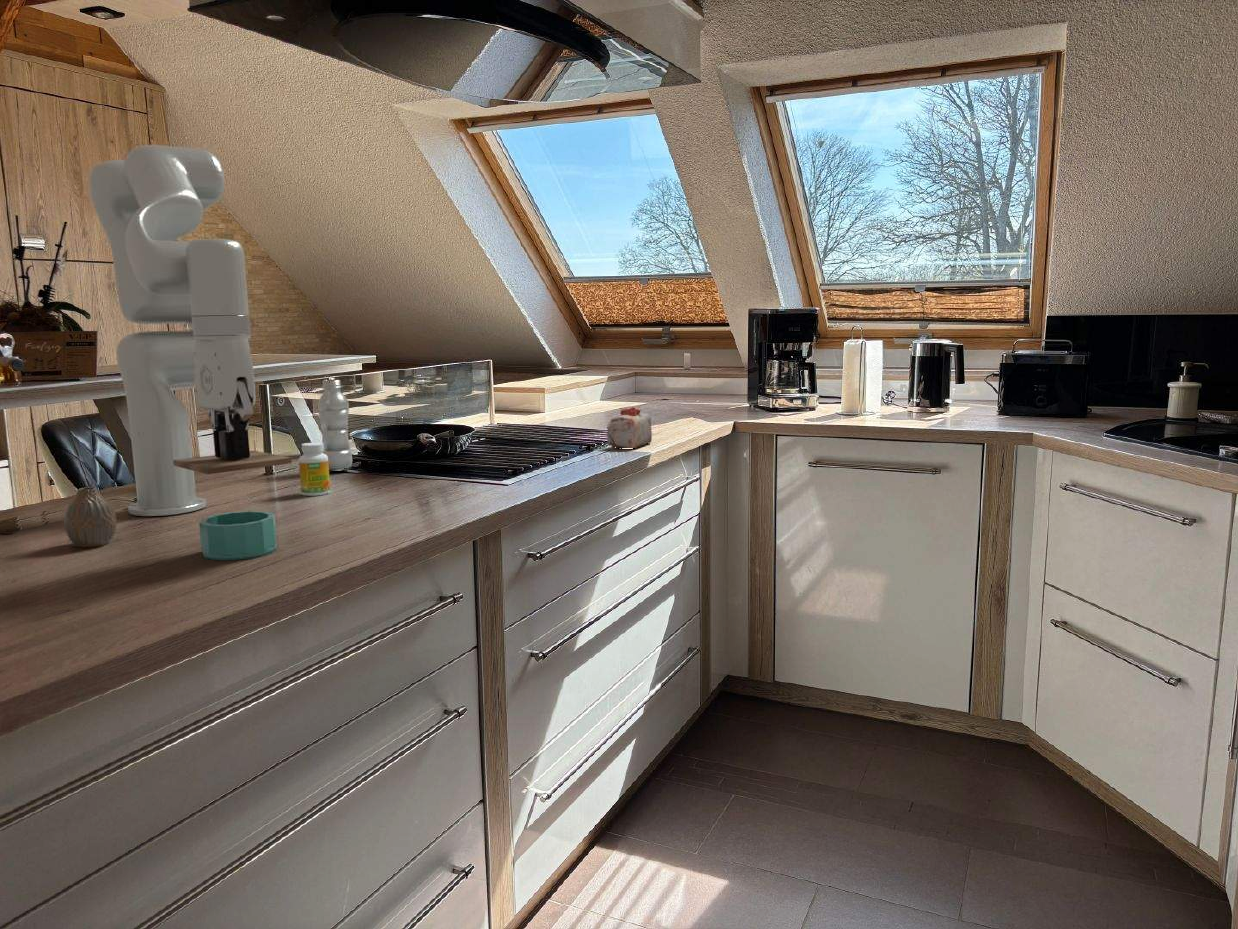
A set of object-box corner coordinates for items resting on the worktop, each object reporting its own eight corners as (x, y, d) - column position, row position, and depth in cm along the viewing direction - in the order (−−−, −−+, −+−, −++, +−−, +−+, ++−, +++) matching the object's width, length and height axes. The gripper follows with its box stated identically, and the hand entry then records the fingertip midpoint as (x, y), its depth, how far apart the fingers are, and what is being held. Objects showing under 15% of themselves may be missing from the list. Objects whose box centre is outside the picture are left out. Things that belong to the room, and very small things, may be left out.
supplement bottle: (308, 497, 179) (304, 446, 178) (296, 493, 183) (292, 444, 182) (335, 493, 183) (331, 443, 181) (323, 490, 187) (319, 441, 185)
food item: (635, 451, 231) (634, 411, 229) (604, 450, 234) (604, 410, 232) (654, 443, 243) (654, 405, 242) (625, 442, 246) (625, 404, 245)
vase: (126, 538, 149) (121, 483, 147) (104, 549, 142) (98, 492, 140) (82, 539, 148) (75, 484, 147) (57, 551, 142) (51, 493, 140)
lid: (173, 465, 137) (170, 432, 136) (254, 455, 145) (251, 424, 145) (208, 474, 129) (204, 439, 128) (291, 463, 137) (289, 430, 136)
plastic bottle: (329, 469, 212) (323, 379, 209) (358, 469, 211) (352, 379, 208) (316, 474, 206) (309, 381, 202) (345, 474, 205) (339, 381, 201)
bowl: (191, 552, 139) (188, 519, 138) (257, 539, 146) (254, 508, 145) (221, 564, 132) (218, 529, 131) (288, 550, 139) (286, 517, 139)
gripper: (171, 329, 137) (183, 455, 140) (220, 329, 126) (232, 466, 129) (222, 328, 142) (233, 450, 145) (274, 328, 131) (284, 459, 134)
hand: (232, 456), depth 137 cm, fingers closed on lid, 3 cm apart
